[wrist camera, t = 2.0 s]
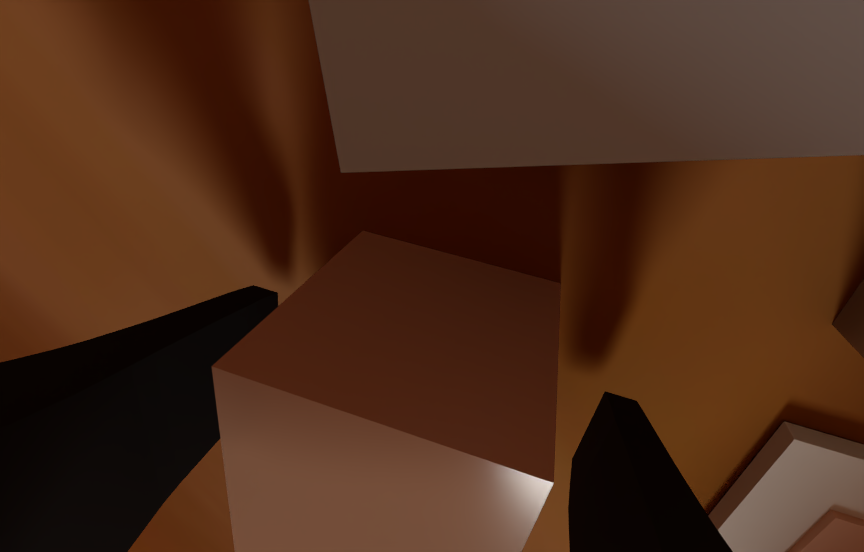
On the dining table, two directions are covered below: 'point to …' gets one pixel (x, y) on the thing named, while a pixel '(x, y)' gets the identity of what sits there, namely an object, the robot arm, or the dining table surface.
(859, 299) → the birch base block
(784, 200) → the dining table surface
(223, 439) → the terracotta block
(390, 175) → the dining table surface
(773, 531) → the tile
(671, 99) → the grey painted block
